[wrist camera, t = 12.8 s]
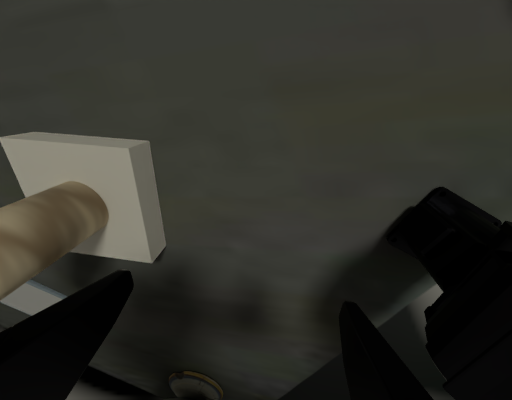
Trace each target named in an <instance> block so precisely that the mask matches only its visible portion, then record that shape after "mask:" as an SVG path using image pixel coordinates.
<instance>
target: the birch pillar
mask: <svg viewBox="0 0 512 400" xmlns="http://www.w3.org/2000/svg"><path fill="white" fill-rule="evenodd" d="M107 222H108V210H107V207H106V205H105V203H104V201H103V200H102V198H101V197H100V196H99V195H98V194H97V193H96V192H95V191H94V190H93V189H92V188H90V187H88V186H87V185H85V184H82V183H80V182H75V181H68V182H64V183H62V184H59V185H57V186H54V187H52V188H49V189H47V190H44V191H42V192H39V193H37V194H34V195H32V196H29V197H27V198H24V199H22V200H19V201H17V202H14V203H12V204H9V205H7V206H4V207H2V208H0V301H1V300H2V299H3V298H5V297H6V296H8V295H9V294H10V293H12V292H13V291H15V290H16V289H17V288H19V287H20V286H22V285H23V284H24V283H26V282H27V281H29V280H30V279H31V278H33V277H34V276H36V275H37V274H38V273H40V272H41V271H43V270H44V269H45V268H47V267H48V266H50V265H51V264H52V263H54V262H55V261H57V260H58V259H59V258H61V257H62V256H64V255H65V254H66V253H68V252H69V251H71V250H72V249H73V248H75V247H76V246H78V245H79V244H80V243H82V242H83V241H85V240H86V239H87V238H89V237H90V236H92V235H93V234H94V233H96V232H97V231H99V230H100V229H101V228H103V227H104V226H105V225H106V224H107Z"/></svg>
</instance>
